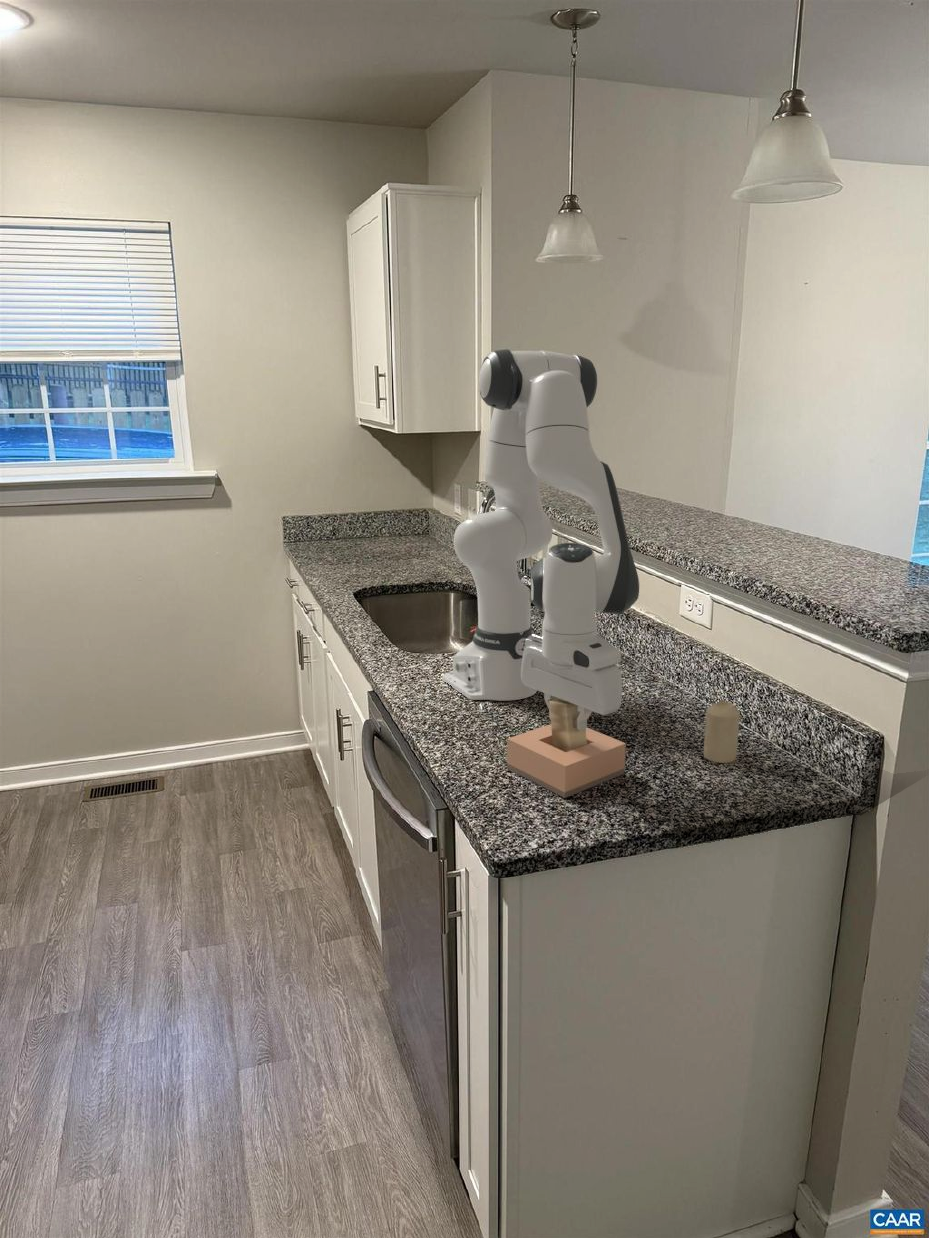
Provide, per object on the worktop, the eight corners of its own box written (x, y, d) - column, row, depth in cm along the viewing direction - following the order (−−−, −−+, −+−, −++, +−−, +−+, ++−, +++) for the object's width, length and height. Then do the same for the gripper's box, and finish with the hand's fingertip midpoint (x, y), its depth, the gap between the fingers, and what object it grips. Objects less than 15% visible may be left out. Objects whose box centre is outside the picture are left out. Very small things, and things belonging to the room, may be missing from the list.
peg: (554, 758, 142) (549, 701, 140) (570, 751, 144) (566, 695, 142) (570, 763, 138) (566, 704, 137) (587, 756, 141) (583, 699, 139)
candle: (705, 762, 145) (709, 708, 143) (701, 749, 150) (705, 697, 148) (738, 764, 144) (742, 710, 142) (733, 751, 150) (737, 698, 147)
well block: (507, 768, 144) (507, 738, 142) (565, 747, 152) (566, 718, 151) (564, 798, 133) (565, 766, 132) (624, 773, 141) (625, 743, 140)
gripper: (512, 634, 143) (512, 711, 146) (601, 663, 127) (599, 747, 131) (539, 628, 146) (538, 702, 150) (629, 654, 131) (626, 737, 134)
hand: (567, 723), depth 140 cm, fingers closed on peg, 4 cm apart
